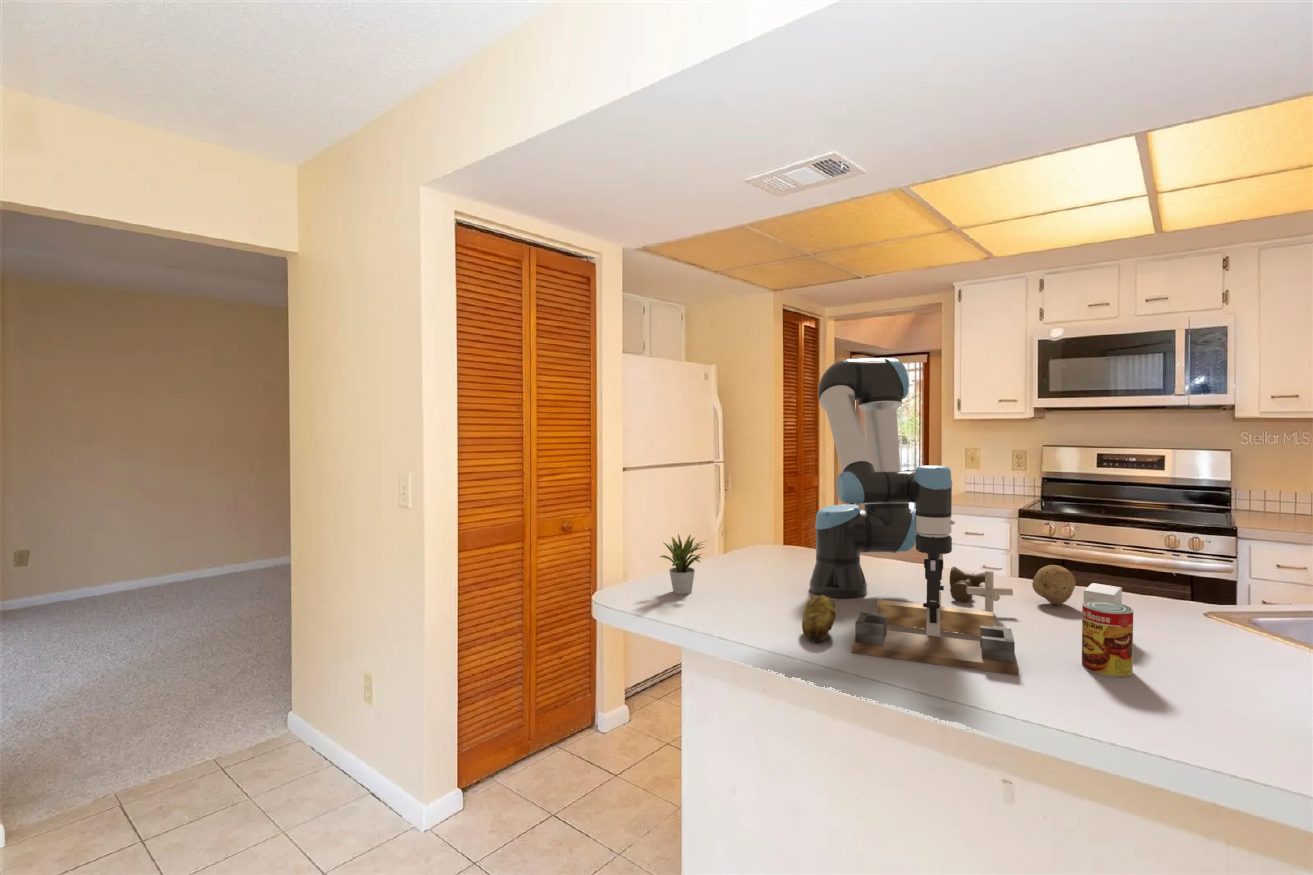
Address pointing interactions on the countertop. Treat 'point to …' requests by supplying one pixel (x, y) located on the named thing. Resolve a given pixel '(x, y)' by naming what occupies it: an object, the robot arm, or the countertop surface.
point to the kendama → (963, 583)
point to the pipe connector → (989, 591)
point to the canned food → (1107, 638)
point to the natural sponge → (1054, 584)
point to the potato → (818, 617)
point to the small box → (1103, 593)
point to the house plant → (682, 565)
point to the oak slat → (949, 617)
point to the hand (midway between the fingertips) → (934, 627)
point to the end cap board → (937, 646)
